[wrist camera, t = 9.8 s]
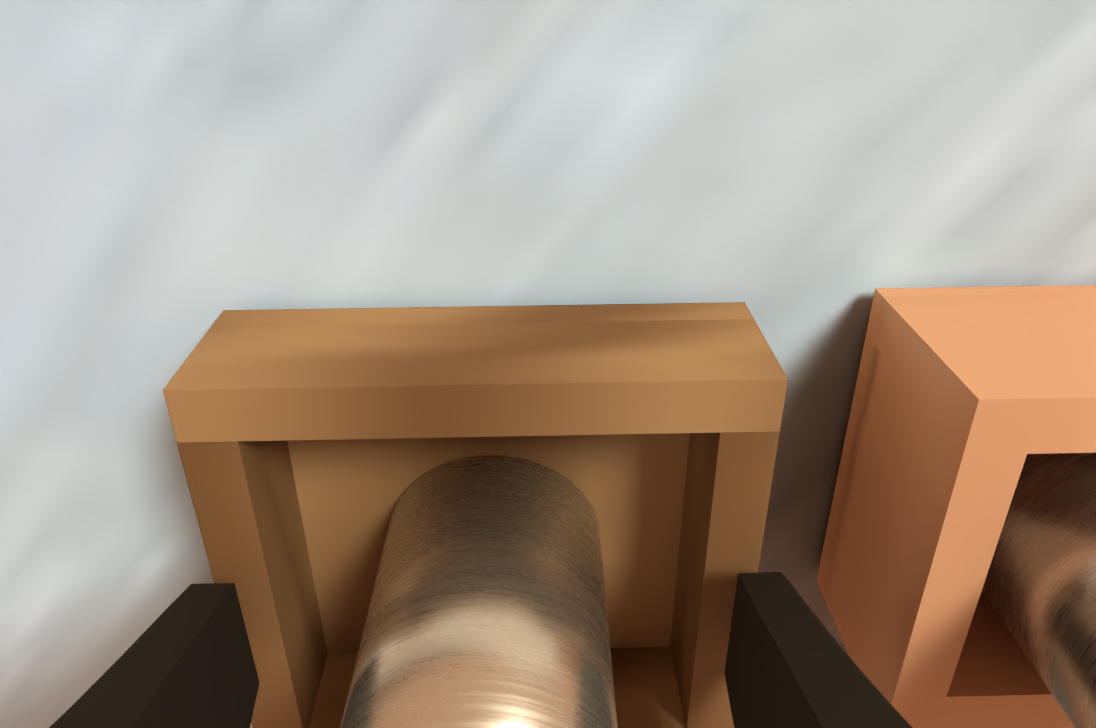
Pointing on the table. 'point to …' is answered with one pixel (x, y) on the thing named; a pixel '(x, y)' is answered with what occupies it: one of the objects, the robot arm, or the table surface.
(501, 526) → the cell
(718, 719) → the brown square tray
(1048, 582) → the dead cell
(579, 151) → the table surface
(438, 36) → the table surface
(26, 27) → the table surface
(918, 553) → the orange square box
